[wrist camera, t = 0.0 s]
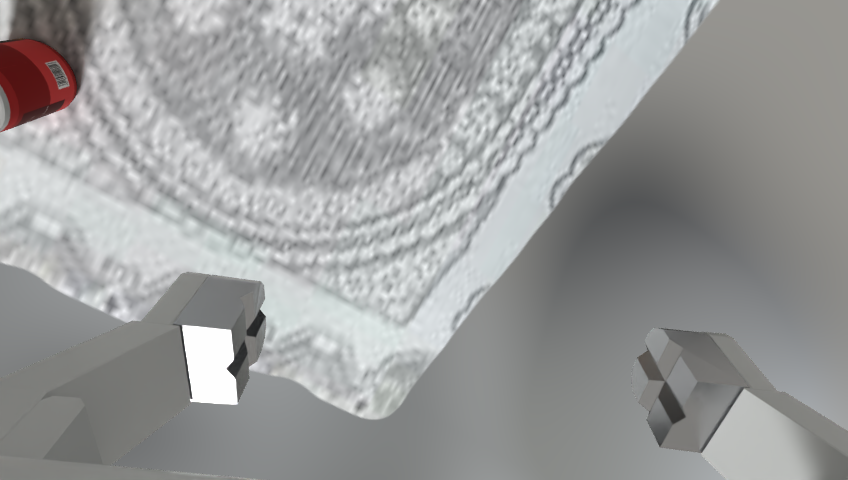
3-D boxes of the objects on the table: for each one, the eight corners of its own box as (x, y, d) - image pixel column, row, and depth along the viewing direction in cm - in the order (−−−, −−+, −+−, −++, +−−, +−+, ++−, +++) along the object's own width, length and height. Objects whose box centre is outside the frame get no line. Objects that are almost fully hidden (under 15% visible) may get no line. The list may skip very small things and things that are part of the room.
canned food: (18, 21, 51) (-77, 32, 42) (90, 71, 54) (16, 92, 44) (-3, 77, 54) (-97, 99, 45) (66, 122, 57) (-8, 152, 47)
